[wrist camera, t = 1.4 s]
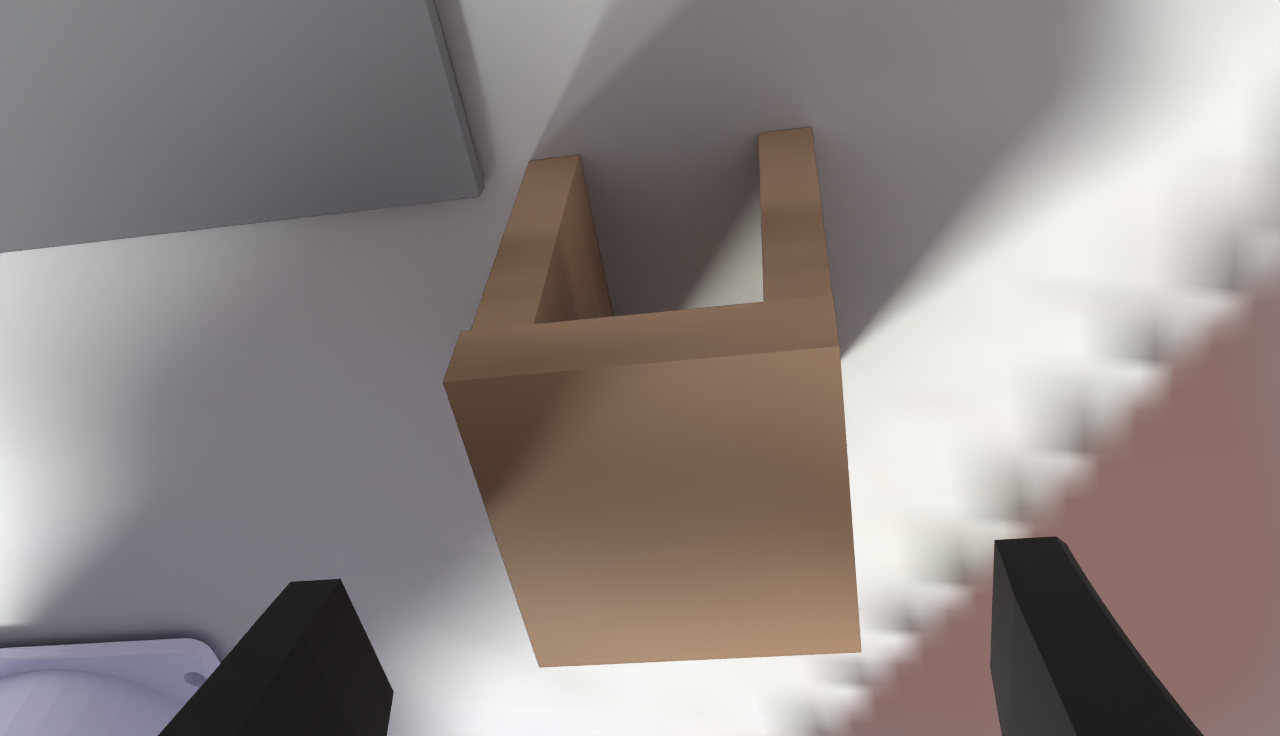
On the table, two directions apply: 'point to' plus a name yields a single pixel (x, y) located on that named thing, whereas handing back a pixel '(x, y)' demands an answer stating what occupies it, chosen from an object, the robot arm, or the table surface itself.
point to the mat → (221, 115)
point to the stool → (663, 439)
